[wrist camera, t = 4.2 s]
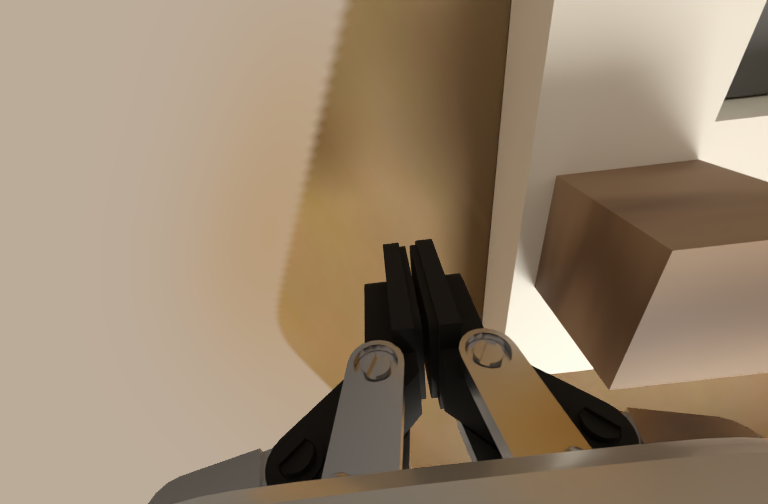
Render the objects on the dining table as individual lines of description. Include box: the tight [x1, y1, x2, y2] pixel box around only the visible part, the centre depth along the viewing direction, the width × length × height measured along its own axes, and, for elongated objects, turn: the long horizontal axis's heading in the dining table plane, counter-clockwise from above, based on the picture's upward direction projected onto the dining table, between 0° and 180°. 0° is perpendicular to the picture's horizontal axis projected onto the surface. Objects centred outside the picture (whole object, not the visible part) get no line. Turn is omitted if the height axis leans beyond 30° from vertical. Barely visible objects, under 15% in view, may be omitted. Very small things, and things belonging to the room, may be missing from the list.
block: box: [535, 159, 768, 390], centre depth 10 cm, size 5×5×5 cm
